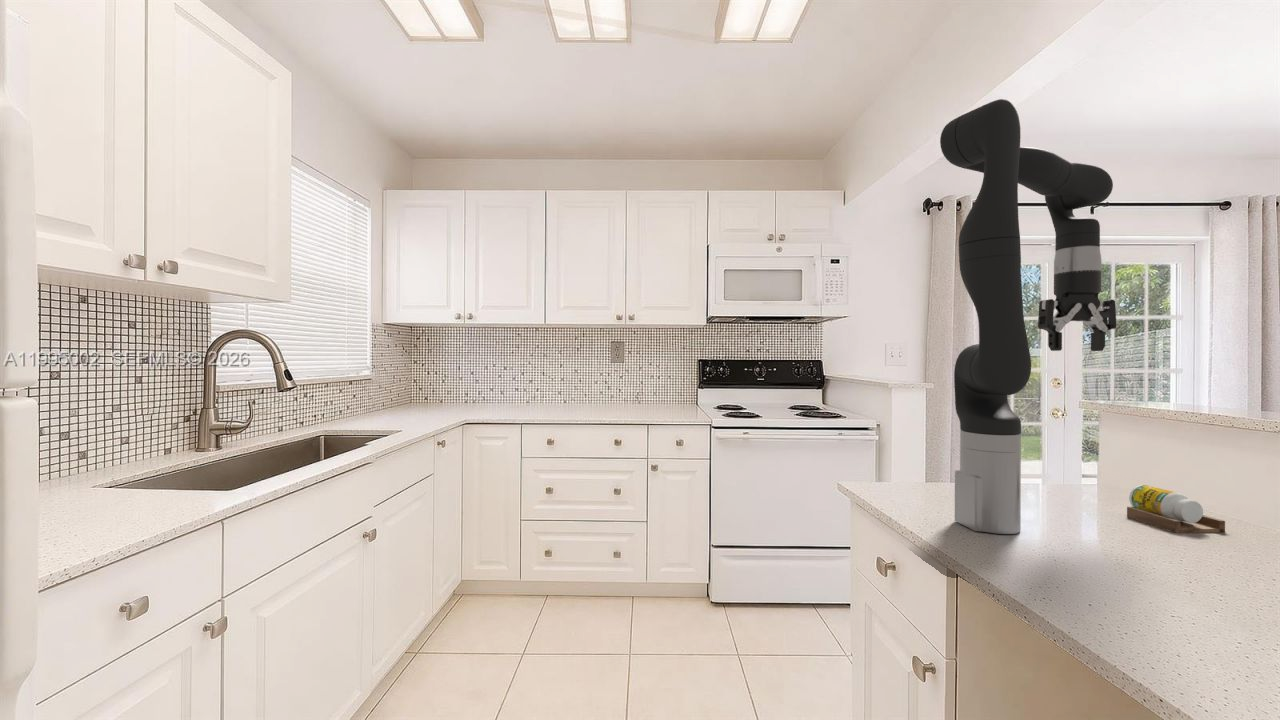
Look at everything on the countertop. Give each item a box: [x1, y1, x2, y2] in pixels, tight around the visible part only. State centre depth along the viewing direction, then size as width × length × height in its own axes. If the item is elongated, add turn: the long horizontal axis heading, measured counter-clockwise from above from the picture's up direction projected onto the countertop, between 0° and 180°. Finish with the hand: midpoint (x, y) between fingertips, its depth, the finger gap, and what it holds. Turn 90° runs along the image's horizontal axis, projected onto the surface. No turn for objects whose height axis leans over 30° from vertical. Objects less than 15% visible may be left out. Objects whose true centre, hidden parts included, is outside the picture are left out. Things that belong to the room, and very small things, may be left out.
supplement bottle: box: [1128, 484, 1204, 523], centre depth 99 cm, size 5×5×10 cm
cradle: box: [1126, 506, 1226, 533], centre depth 98 cm, size 9×9×2 cm
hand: (1076, 350), depth 109 cm, fingers open, 8 cm apart
